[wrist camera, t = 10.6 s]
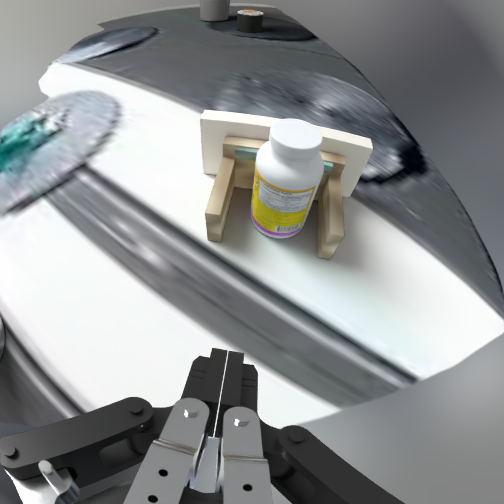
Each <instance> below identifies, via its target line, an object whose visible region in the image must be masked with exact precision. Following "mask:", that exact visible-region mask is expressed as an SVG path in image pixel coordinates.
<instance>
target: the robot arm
mask: <svg viewBox="0 0 504 504" xmlns="http://www.w3.org/2000/svg"><path fill="white" fill-rule="evenodd" d="M4 340H5V335H4V326H3V322H2V319H1V317H0V360H1V357H2V354H3V349H4ZM226 357H227V350H222V349H216V348H212V352H211V355H210V358H208V357H203V356H199V357H198V358H197V359H195V360H194V361H193V363H192V366H191V370H190V372H189V376H188V378H187V381H186V384H185V388H184V391H183V394H182V397H181V399H180V400H179V401H177V402H176V403H175V405H173V406H170V407H166V408H152V406H151V404H150V403H149V402H148V401H146V400H144V399H142V398H139V397H129V398H125V399H123V400H120V401H118V402H115V403H112V404H110V405H107V406H104V407H102V408H99V409H96V410H93V411H90V412H87V413H85V414H82V415H79V416H76V417H73V418H70V419H67V420H63V421H60V422H57V423H54V424H50V425H47V426H44V427H40V428H37V429H33V430H30V431H26V432H22V433H18V434H14V435H10V436H6V437H3V438H1V439H0V464H1V465H2V466H3V467H4V469H5V470H6V472H7V473H8V474H9V476H10V477H11V478H12V479H13V481H14V484H15V486H16V488H17V490H18V493H19V495H20V497H21V499H22V501H23V503H24V504H71V503H73V502H75V501H76V500H77V499H78V497H79V488H82V487H85V486H87V485H90V484H93V483H95V482H98V481H100V480H103V479H104V478H107V477H110V476H112V475H114V474H117V473H119V472H121V471H123V470H125V469H128V468H130V467H132V466H134V465H136V464H138V463H140V462H142V461H143V462H142V465H141V467H140V469H139V471H138V473H137V475H136V477H135V480H134V481H128V482H123V483H121V484H118V485H115V486H113V487H111V488H109V489H107V490H105V491H103V492H101V493H98V494H96V495H94V496H92V497H89V498H87V499H84V500H82V501H80V502H77V503H75V504H273V500H272V491H271V484H272V485H273V486H274V487H275V488H276V489H277V490H278V491H279V492H280V493H281V494H282V495H283V496H285V497H286V498H287V499H288V500H289V501H290V502H291V503H292V504H404V503H403V502H402V501H400V500H399V499H397V498H396V497H394V496H393V495H391V494H390V493H388V492H387V491H385V490H384V489H382V488H381V487H379V486H378V485H377V484H375V483H374V482H372V481H371V480H369V479H368V478H367V477H366V476H364V475H363V474H362V473H360V472H359V471H357V470H356V469H355V468H354V467H352V466H351V465H350V464H348V463H347V462H346V461H344V460H343V459H342V458H341V457H339V456H338V455H337V454H336V453H334V452H333V451H332V450H331V449H329V448H328V447H327V446H326V445H325V444H323V443H322V442H321V441H320V440H319V439H317V438H316V437H315V436H314V435H313V434H311V433H310V432H309V431H308V430H307V429H305V428H303V427H300V426H295V425H291V426H286V427H284V428H282V429H281V430H280V429H277V428H274V427H272V426H269V425H267V424H265V423H264V422H263V421H262V420H261V419H260V418H259V416H258V413H257V394H258V388H257V387H258V372H257V370H256V369H255V367H254V365H249V364H243V360H244V353H240V352H234V351H229V353H228V359H227V365H226V371H225V377H224V383H223V389H222V395H221V401H220V407H219V413H218V419H217V425H216V431H215V437H216V438H219V443H218V449H217V459H216V485H215V493H201V492H199V491H196V490H194V484H195V480H196V477H197V473H198V470H199V467H200V463H201V460H202V457H203V453H204V449H205V447H206V445H207V440H208V436H210V437H213V434H214V428H215V422H216V416H217V410H218V404H219V398H220V392H221V387H222V381H223V375H224V369H225V363H226Z"/></svg>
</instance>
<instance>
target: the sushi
mask: <svg viewBox="0 0 504 504" xmlns="http://www.w3.org/2000/svg"><path fill="white" fill-rule="evenodd" d="M262 22H263V13H262V12H260V11H258V12H257V11H253V10H245V9H244V10H241V11H238V14H237V30H239V31H242V32H247V33H255V32H260V31H262Z"/></svg>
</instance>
